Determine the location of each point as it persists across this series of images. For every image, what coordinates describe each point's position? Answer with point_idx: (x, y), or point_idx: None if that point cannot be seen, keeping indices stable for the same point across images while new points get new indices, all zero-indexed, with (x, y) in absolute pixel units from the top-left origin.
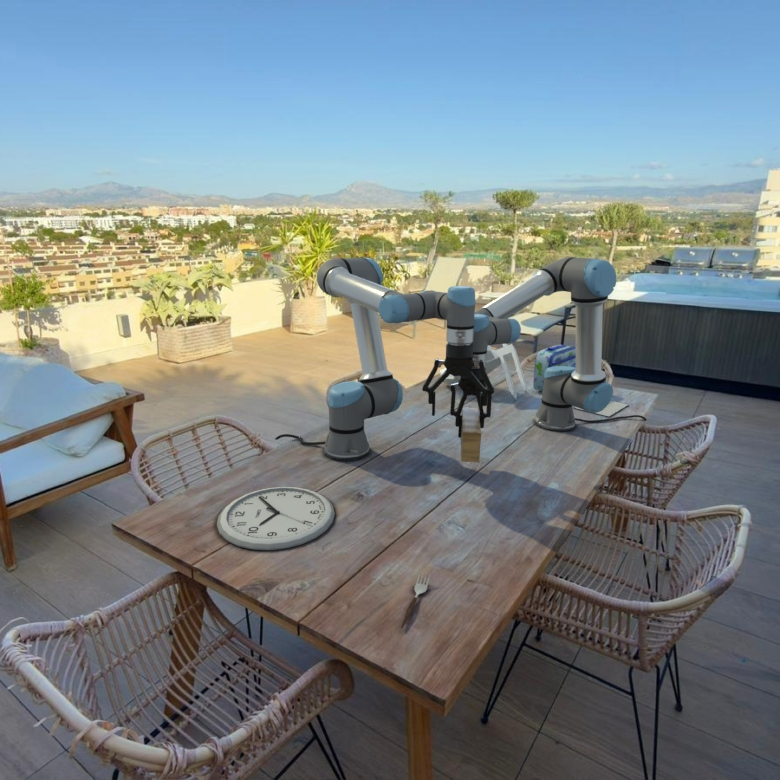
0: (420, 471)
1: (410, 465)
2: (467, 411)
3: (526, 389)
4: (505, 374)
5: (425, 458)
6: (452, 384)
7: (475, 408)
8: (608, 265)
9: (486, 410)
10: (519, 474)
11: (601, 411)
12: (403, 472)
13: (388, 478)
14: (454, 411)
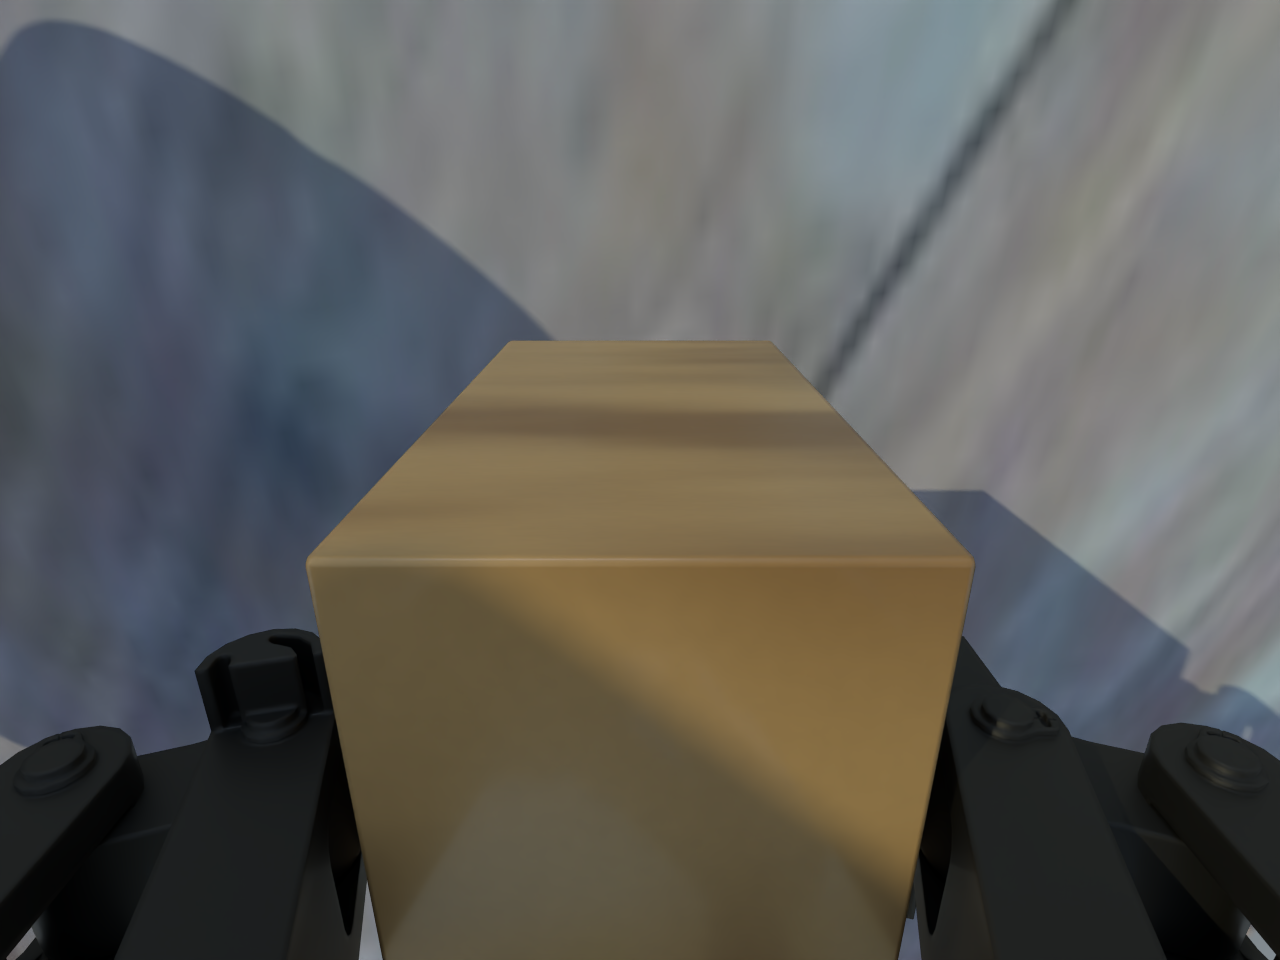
0: (248, 595)
1: (128, 500)
2: (544, 929)
3: None
4: None
5: (218, 327)
6: None
7: (855, 640)
8: None
9: (1225, 850)
10: (1088, 530)
11: None
12: (119, 629)
13: (48, 729)
14: (137, 897)
